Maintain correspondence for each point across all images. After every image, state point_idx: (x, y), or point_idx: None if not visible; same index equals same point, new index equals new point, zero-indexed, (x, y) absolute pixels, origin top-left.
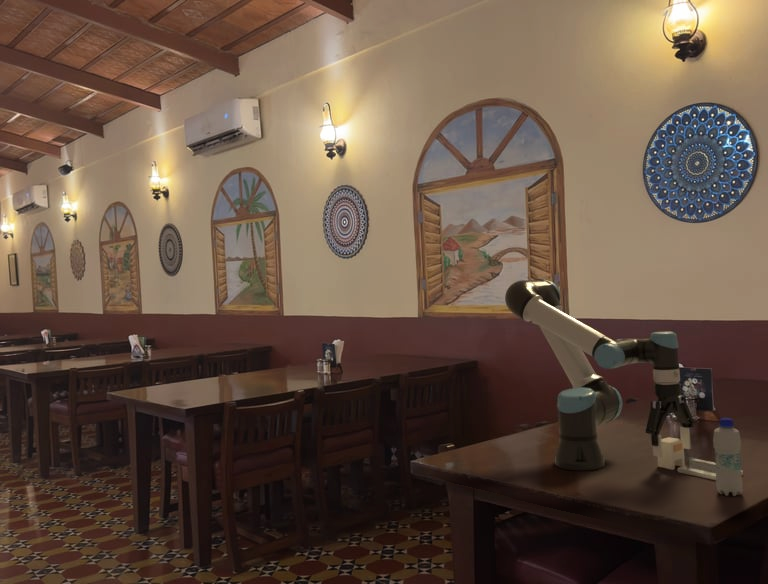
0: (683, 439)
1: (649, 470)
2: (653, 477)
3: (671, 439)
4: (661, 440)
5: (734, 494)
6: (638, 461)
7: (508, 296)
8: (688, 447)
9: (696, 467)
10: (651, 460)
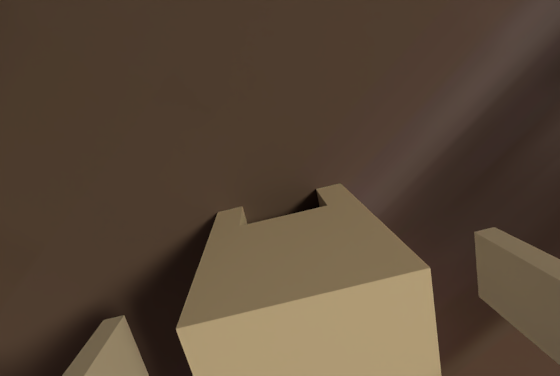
0: (542, 300)
1: (115, 255)
2: (54, 367)
3: (359, 367)
4: (226, 354)
5: None
6: (184, 36)
7: None
8: (489, 299)
9: None
10: (283, 66)
